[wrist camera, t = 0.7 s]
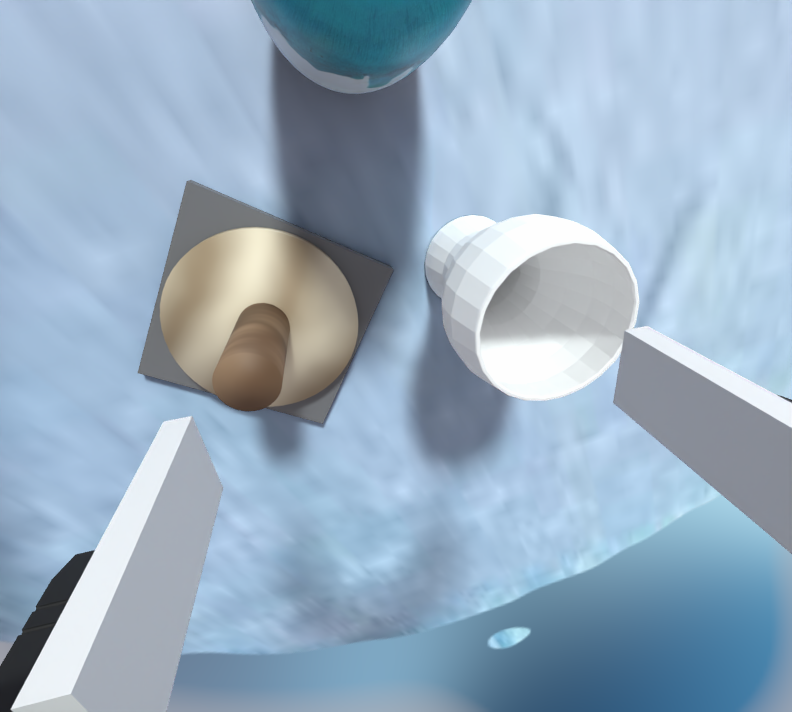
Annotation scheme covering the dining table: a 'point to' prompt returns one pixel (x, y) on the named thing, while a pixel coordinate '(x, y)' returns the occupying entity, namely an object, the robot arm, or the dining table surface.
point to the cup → (532, 301)
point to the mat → (219, 213)
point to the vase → (358, 37)
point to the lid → (259, 317)
